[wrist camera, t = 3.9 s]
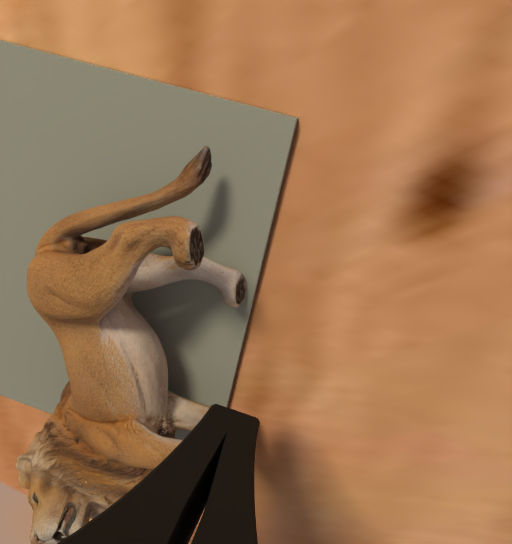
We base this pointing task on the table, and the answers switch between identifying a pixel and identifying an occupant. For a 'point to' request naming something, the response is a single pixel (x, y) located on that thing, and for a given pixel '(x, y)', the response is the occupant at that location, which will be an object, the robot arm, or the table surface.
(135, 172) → the mat
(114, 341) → the lion figurine
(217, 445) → the robot arm
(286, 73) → the table surface
